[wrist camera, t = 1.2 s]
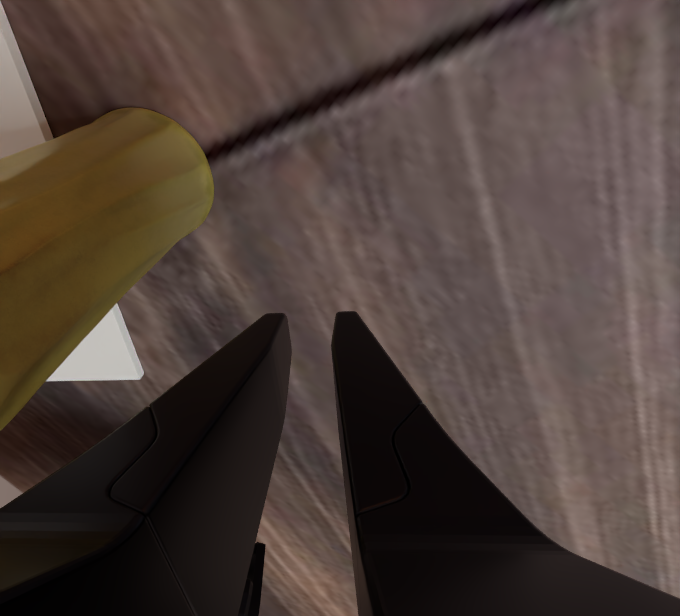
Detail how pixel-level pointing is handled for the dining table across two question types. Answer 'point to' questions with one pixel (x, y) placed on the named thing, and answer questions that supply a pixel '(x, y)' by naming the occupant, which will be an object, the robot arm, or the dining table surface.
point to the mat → (25, 132)
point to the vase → (87, 233)
